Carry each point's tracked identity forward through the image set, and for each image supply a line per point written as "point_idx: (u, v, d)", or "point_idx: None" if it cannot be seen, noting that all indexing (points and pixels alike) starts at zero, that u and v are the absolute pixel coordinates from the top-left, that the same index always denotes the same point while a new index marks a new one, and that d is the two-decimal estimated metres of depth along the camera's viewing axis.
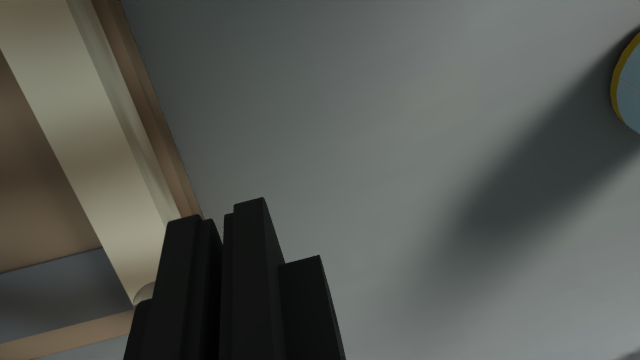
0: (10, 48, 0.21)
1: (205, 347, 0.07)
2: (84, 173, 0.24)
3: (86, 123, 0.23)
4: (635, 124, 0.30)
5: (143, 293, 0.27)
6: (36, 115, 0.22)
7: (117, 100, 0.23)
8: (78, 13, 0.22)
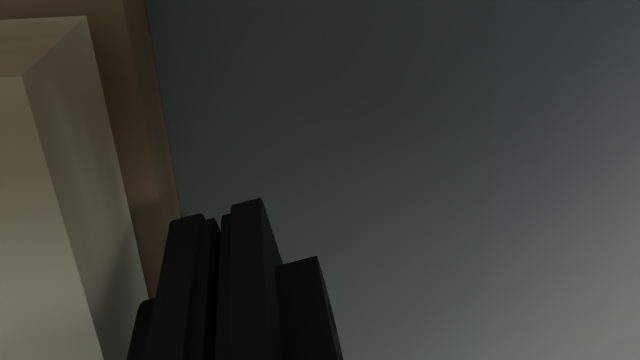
0: None
1: (209, 346, 0.07)
2: None
3: None
4: None
5: None
6: None
7: (125, 355, 0.09)
8: (73, 157, 0.08)
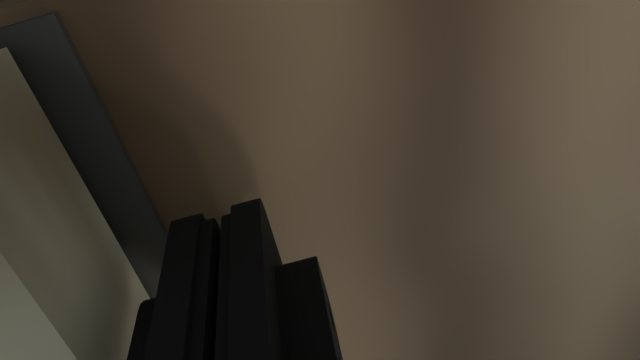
0: None
1: (210, 347, 0.07)
2: None
3: None
4: None
5: None
6: None
7: None
8: (9, 193, 0.07)
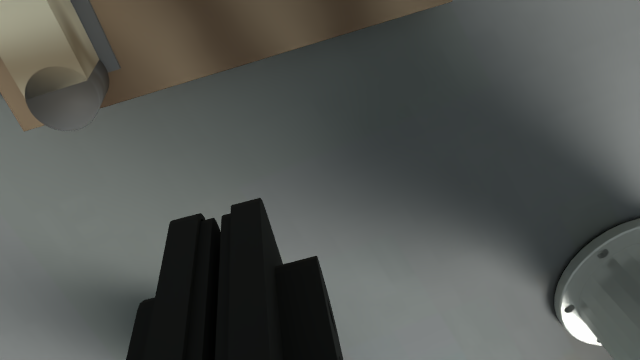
0: None
1: (209, 346, 0.07)
2: None
3: None
4: None
5: (34, 84, 0.26)
6: None
7: None
8: None
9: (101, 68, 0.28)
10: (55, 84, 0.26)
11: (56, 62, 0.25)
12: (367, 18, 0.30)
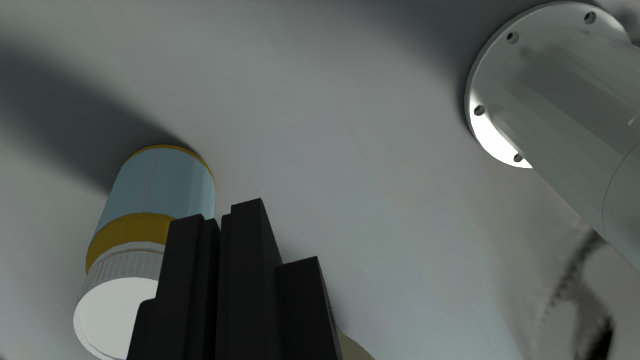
0: None
1: (209, 347, 0.07)
2: None
3: None
4: (127, 167, 0.38)
5: None
6: None
7: None
8: None
9: None
10: None
11: None
12: None
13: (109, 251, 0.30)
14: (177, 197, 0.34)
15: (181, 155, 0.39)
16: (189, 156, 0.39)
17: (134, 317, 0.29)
